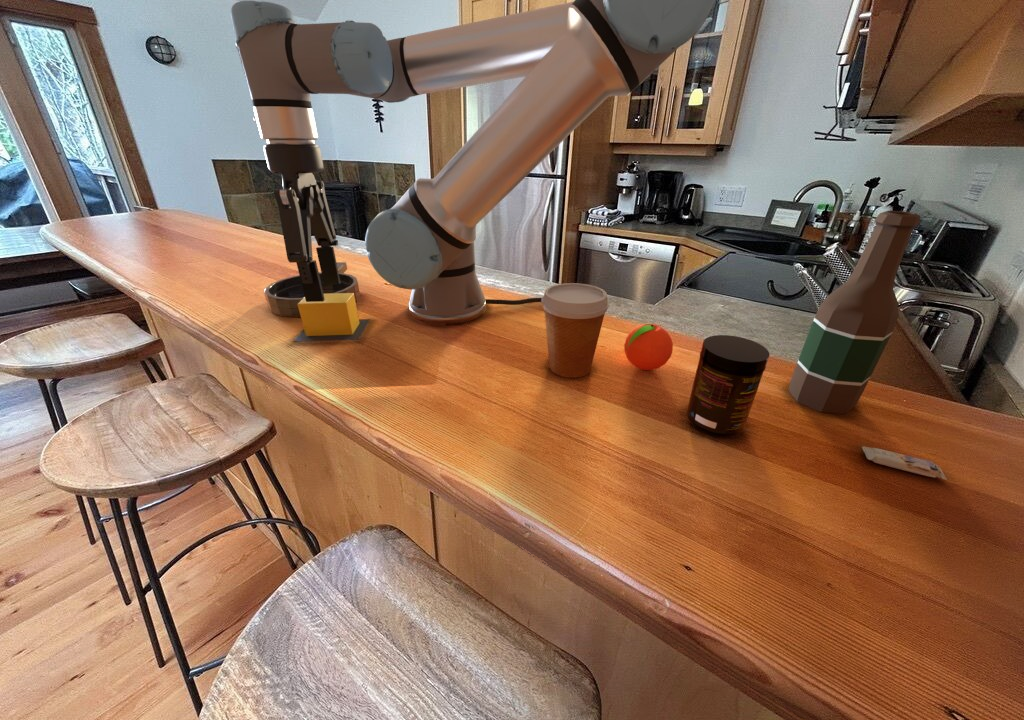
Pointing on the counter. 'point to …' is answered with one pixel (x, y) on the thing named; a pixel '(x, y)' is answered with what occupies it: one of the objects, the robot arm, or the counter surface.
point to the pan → (290, 293)
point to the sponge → (330, 315)
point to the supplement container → (725, 384)
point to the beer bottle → (854, 323)
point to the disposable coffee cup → (573, 326)
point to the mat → (355, 336)
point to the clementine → (648, 346)
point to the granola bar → (904, 462)
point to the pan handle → (341, 267)
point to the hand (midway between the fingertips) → (324, 291)
